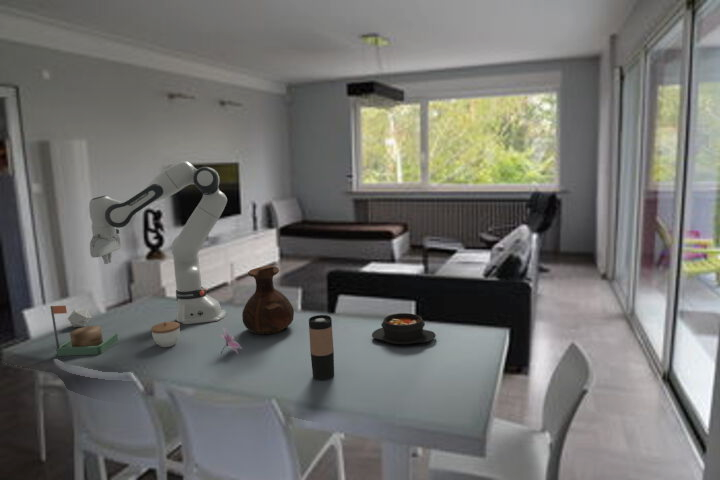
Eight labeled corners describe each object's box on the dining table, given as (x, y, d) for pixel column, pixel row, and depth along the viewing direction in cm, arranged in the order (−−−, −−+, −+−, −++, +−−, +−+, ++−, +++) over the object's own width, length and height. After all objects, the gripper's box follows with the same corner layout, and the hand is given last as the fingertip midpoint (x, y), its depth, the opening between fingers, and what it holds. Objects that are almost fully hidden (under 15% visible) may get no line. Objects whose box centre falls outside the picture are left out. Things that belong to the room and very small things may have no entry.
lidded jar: (187, 341, 206) (184, 319, 205) (167, 351, 197) (164, 328, 195) (167, 338, 211) (165, 316, 209) (147, 347, 201) (144, 325, 199)
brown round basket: (108, 342, 209) (106, 325, 208) (94, 353, 198) (92, 335, 197) (82, 343, 209) (79, 326, 208) (66, 354, 198) (64, 336, 197)
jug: (232, 336, 209) (225, 266, 204) (261, 319, 229) (255, 255, 224) (277, 341, 201) (272, 268, 196) (303, 323, 221) (299, 256, 215)
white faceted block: (76, 331, 226) (88, 312, 228) (60, 322, 227) (73, 303, 228) (86, 332, 234) (98, 313, 236) (71, 322, 235) (82, 304, 237)
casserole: (439, 333, 202) (438, 313, 201) (431, 351, 185) (430, 329, 183) (379, 329, 210) (378, 309, 208) (366, 346, 192) (365, 325, 191)
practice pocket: (118, 340, 211) (111, 294, 207) (100, 354, 197) (93, 304, 193) (78, 341, 211) (71, 295, 208) (57, 355, 197) (49, 306, 193)
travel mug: (312, 371, 172) (308, 315, 168) (334, 370, 172) (331, 314, 169) (312, 381, 164) (308, 323, 161) (335, 380, 165) (332, 321, 161)
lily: (226, 363, 185) (237, 341, 184) (204, 349, 188) (214, 327, 188) (242, 360, 195) (252, 340, 195) (221, 347, 199) (230, 326, 198)
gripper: (98, 236, 213) (103, 268, 215) (121, 229, 233) (125, 258, 235) (83, 237, 213) (88, 268, 215) (108, 229, 233) (112, 258, 236)
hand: (107, 263), depth 226 cm, fingers closed
